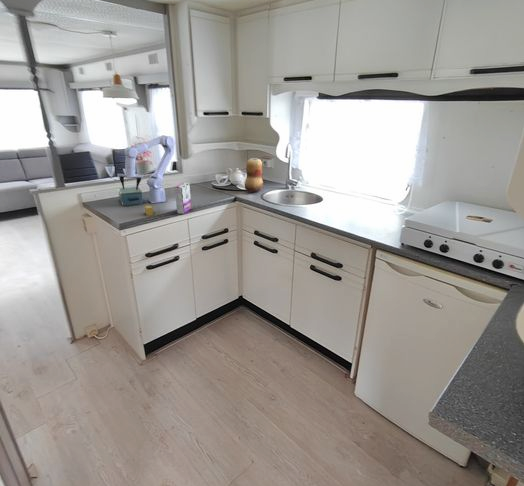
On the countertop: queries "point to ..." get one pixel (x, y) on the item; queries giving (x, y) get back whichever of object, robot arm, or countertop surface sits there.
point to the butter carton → (148, 210)
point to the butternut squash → (254, 175)
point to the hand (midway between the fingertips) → (130, 189)
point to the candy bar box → (183, 198)
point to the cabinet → (128, 191)
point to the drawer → (132, 198)
